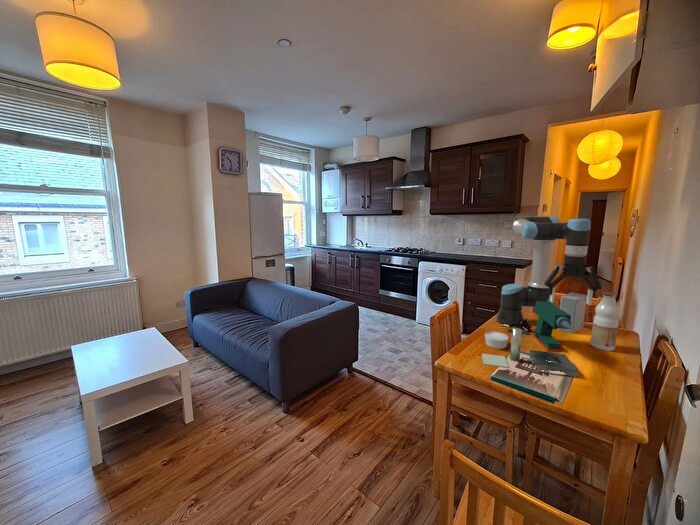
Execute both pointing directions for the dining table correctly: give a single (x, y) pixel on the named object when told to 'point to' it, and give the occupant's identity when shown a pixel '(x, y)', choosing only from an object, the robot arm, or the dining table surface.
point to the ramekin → (496, 340)
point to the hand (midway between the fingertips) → (569, 303)
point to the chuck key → (516, 342)
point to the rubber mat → (494, 360)
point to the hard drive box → (574, 310)
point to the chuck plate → (562, 359)
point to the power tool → (550, 324)
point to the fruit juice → (605, 323)
